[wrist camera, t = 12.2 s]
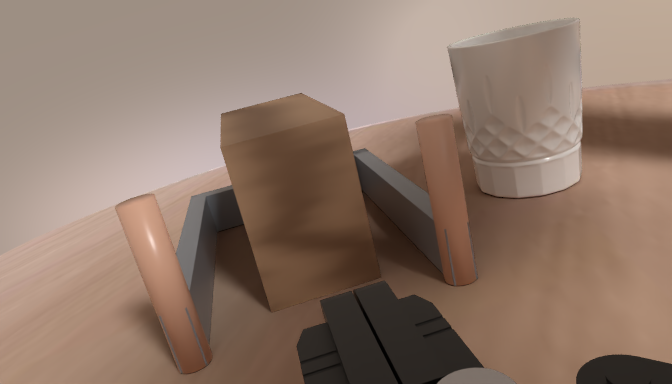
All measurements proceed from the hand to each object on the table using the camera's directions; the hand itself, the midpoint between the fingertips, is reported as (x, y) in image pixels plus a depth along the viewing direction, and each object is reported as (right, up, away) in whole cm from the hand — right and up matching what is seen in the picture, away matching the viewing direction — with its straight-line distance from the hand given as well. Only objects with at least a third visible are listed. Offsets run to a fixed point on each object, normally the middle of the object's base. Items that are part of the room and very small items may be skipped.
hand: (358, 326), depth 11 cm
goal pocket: (-2, -1, +21) cm, 21 cm away
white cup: (+13, +4, +24) cm, 27 cm away
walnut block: (-2, -1, +22) cm, 22 cm away
